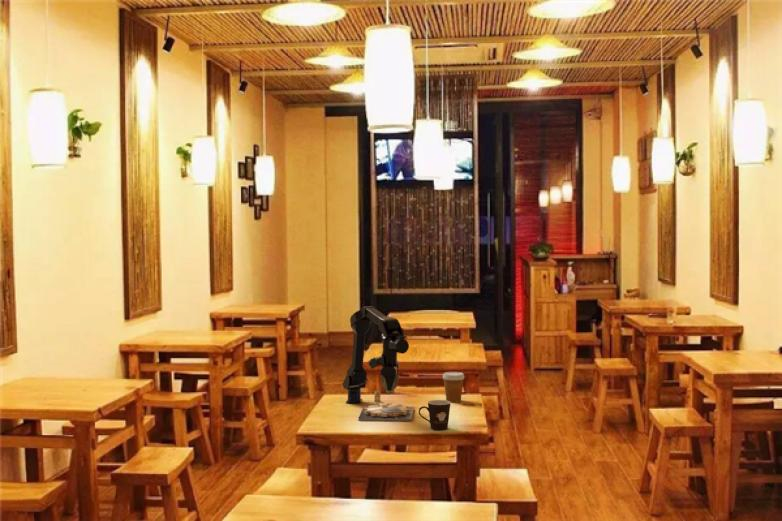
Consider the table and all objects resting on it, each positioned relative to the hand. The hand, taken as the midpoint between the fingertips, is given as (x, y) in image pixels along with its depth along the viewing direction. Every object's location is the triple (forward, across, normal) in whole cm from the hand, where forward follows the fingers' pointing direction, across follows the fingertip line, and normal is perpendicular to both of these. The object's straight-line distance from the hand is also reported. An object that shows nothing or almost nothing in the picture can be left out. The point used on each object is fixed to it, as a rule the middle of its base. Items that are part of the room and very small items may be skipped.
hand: (390, 388), depth 340 cm
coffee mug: (+12, +17, +18) cm, 28 cm away
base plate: (+11, -4, -2) cm, 12 cm away
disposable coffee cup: (+12, -31, +25) cm, 41 cm away
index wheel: (+10, -4, -2) cm, 11 cm away
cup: (+2, 0, 0) cm, 2 cm away
